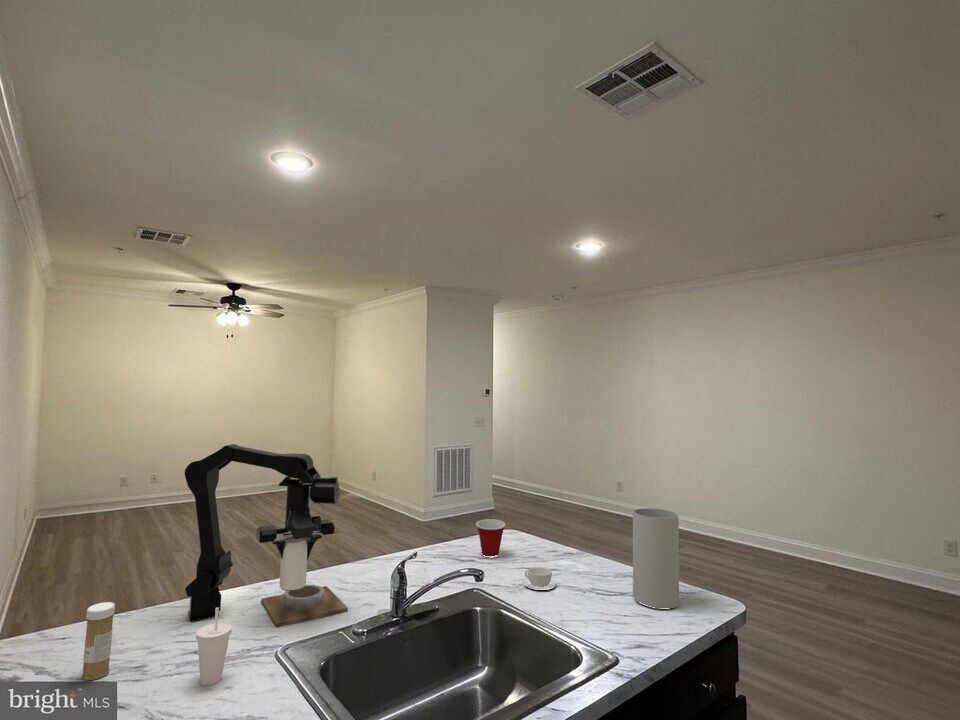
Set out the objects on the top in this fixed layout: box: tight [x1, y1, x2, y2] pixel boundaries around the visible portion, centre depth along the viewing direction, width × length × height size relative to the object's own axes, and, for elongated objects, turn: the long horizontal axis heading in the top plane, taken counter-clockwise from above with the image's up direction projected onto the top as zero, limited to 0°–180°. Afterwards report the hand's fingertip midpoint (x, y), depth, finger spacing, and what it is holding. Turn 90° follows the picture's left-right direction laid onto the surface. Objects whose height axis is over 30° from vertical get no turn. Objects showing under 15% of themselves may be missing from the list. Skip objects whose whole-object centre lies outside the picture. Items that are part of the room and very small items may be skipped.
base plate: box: [260, 585, 349, 628], centre depth 135 cm, size 18×18×1 cm
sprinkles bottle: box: [81, 601, 116, 681], centre depth 101 cm, size 5×5×13 cm
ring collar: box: [283, 584, 324, 611], centre depth 135 cm, size 10×10×3 cm
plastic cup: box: [475, 518, 506, 556], centre depth 183 cm, size 11×11×12 cm
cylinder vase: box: [632, 507, 680, 609], centre depth 145 cm, size 12×12×25 cm
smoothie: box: [195, 607, 233, 686], centre depth 100 cm, size 6×6×14 cm
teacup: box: [524, 566, 553, 587], centre depth 155 cm, size 10×10×5 cm
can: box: [279, 536, 308, 592], centre depth 131 cm, size 6×6×12 cm
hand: (294, 564), depth 131 cm, fingers closed on can, 5 cm apart
